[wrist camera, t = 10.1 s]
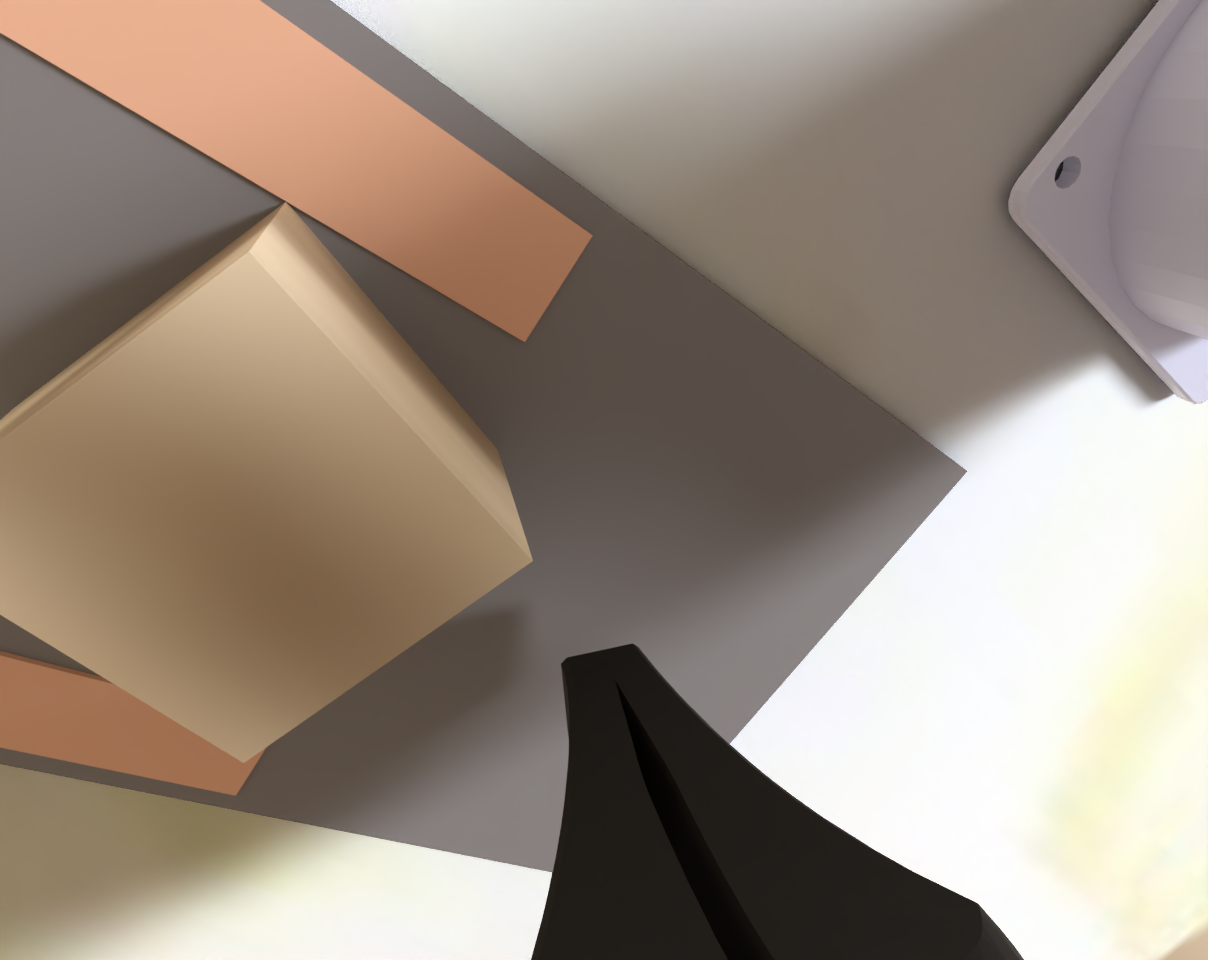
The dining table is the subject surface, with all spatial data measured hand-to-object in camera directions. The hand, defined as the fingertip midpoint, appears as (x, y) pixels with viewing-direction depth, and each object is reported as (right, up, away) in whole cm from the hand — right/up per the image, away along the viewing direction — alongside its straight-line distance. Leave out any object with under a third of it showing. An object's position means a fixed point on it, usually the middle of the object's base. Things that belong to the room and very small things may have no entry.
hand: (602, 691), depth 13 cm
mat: (-3, +2, 0) cm, 4 cm away
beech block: (-5, +5, -1) cm, 7 cm away
